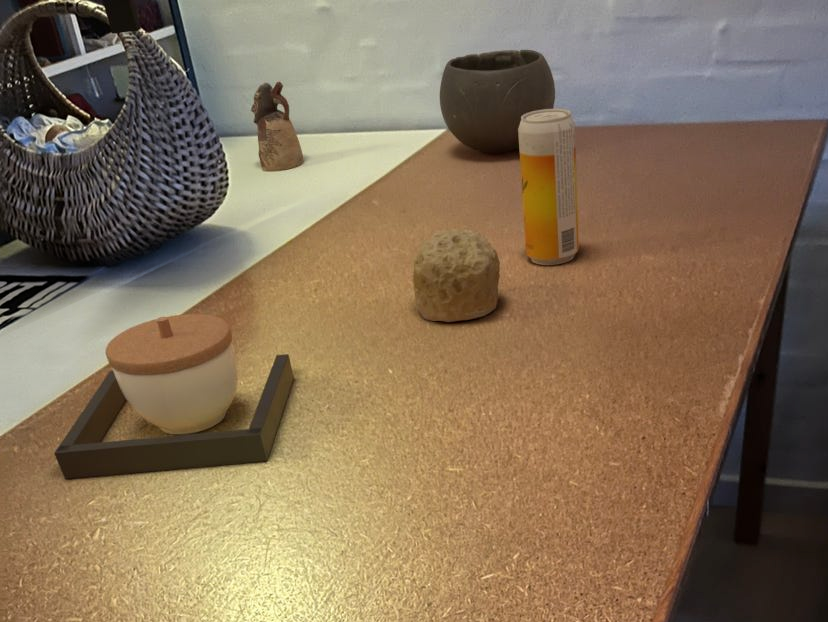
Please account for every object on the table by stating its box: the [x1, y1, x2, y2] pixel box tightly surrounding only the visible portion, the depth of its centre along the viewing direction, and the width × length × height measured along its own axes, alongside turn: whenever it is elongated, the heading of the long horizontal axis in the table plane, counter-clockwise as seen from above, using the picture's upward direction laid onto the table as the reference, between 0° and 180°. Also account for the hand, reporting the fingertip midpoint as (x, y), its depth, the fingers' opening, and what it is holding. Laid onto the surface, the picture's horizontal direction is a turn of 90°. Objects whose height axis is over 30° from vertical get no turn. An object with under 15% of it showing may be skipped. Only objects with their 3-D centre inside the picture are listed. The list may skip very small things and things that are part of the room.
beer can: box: [518, 108, 580, 266], centre depth 109 cm, size 6×6×15 cm
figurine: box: [250, 81, 304, 172], centre depth 157 cm, size 7×7×12 cm
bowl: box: [439, 49, 556, 154], centre depth 151 cm, size 18×18×13 cm
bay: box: [53, 353, 295, 480], centre depth 88 cm, size 16×17×2 cm
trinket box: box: [105, 313, 239, 436], centre depth 86 cm, size 11×11×9 cm
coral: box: [412, 228, 501, 323], centre depth 102 cm, size 9×9×8 cm
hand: (126, 30), depth 101 cm, fingers closed
